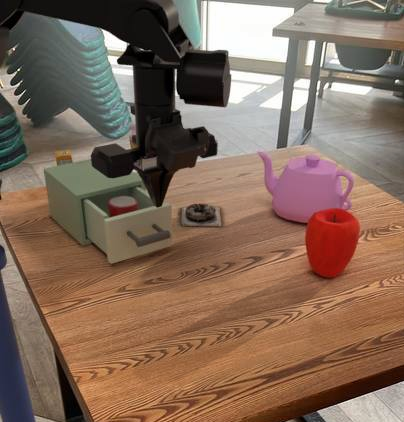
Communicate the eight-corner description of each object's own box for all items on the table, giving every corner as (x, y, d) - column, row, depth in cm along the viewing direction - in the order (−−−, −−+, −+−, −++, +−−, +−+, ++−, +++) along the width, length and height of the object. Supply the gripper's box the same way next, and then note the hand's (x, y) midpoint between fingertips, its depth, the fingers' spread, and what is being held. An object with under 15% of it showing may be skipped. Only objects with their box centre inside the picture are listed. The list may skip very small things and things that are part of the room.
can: (119, 244, 101) (116, 209, 97) (106, 233, 104) (103, 199, 100) (143, 237, 103) (142, 203, 99) (130, 226, 106) (128, 193, 102)
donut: (181, 207, 118) (181, 198, 116) (219, 208, 118) (220, 198, 117) (181, 226, 111) (181, 216, 110) (221, 226, 111) (221, 216, 110)
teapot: (352, 207, 120) (363, 150, 112) (344, 235, 110) (356, 175, 102) (259, 193, 124) (264, 138, 117) (243, 219, 114) (248, 160, 107)
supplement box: (60, 198, 120) (53, 150, 114) (77, 196, 121) (71, 149, 115) (62, 205, 118) (55, 156, 111) (79, 203, 118) (73, 154, 112)
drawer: (186, 256, 100) (186, 214, 95) (124, 276, 95) (120, 233, 90) (135, 217, 112) (133, 178, 107) (76, 233, 106) (71, 193, 101)
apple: (306, 255, 103) (315, 198, 96) (355, 264, 101) (367, 207, 94) (294, 278, 97) (303, 219, 90) (345, 289, 95) (358, 229, 88)
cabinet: (147, 228, 110) (145, 179, 104) (82, 246, 104) (76, 195, 98) (111, 201, 120) (108, 155, 113) (50, 216, 113) (43, 168, 107)
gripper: (123, 127, 70) (130, 242, 80) (243, 105, 79) (236, 211, 89) (83, 104, 77) (94, 212, 87) (197, 87, 86) (196, 187, 96)
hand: (157, 206), depth 90 cm, fingers closed
